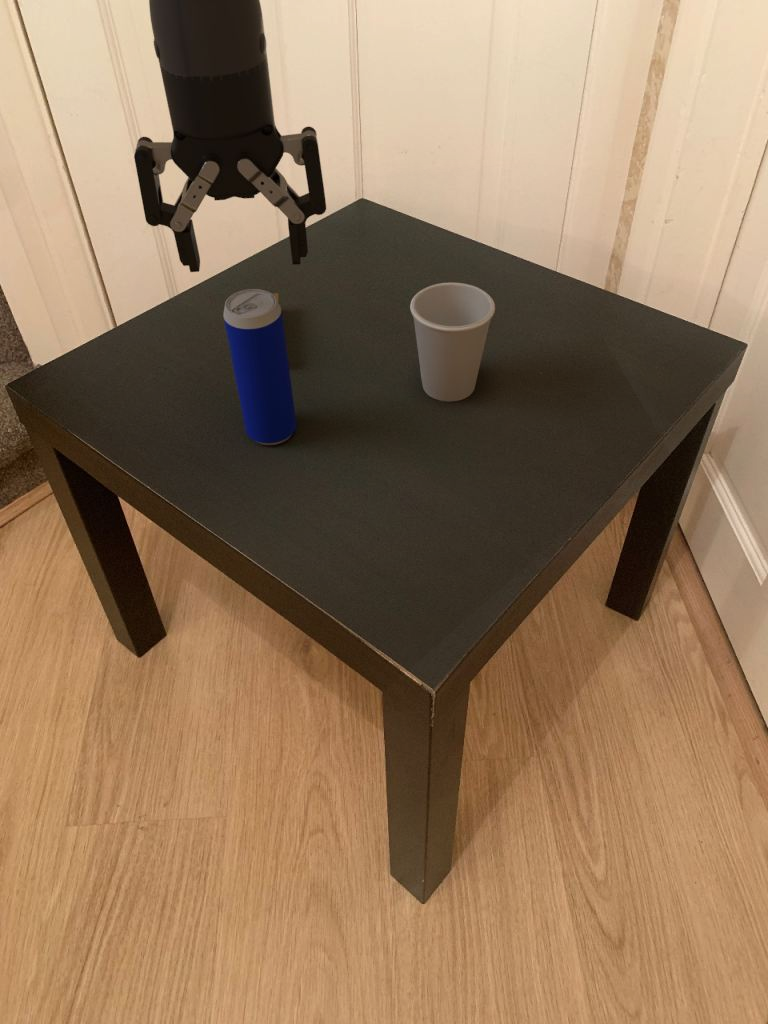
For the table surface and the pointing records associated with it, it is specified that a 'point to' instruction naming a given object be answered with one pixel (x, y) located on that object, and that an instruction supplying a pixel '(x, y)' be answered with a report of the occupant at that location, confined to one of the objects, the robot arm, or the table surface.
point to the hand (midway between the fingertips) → (245, 263)
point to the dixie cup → (451, 337)
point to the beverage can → (260, 365)
